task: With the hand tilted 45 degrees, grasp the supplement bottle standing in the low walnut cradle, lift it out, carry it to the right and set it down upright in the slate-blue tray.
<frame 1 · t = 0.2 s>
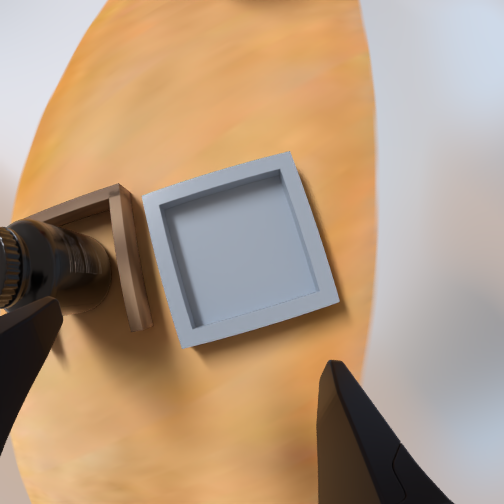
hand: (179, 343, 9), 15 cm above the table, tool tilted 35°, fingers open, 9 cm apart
supplement bottle: (82, 274, 24), on the table
tray: (238, 250, 24), on the table
cradle: (81, 274, 24), on the table
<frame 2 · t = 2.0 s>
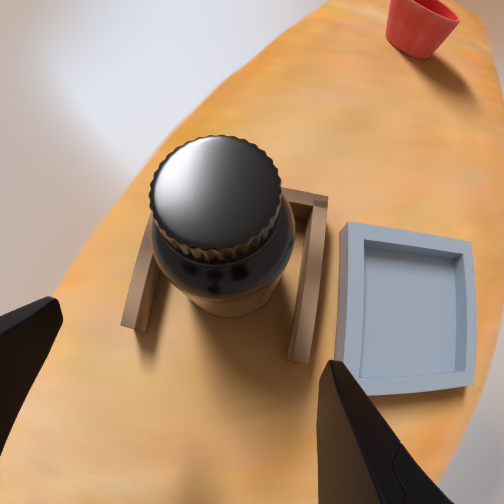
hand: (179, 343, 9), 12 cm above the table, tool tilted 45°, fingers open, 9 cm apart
flower pot: (407, 46, 34), on the table
supplement bottle: (229, 272, 22), on the table
tray: (407, 313, 21), on the table
cradle: (229, 271, 22), on the table
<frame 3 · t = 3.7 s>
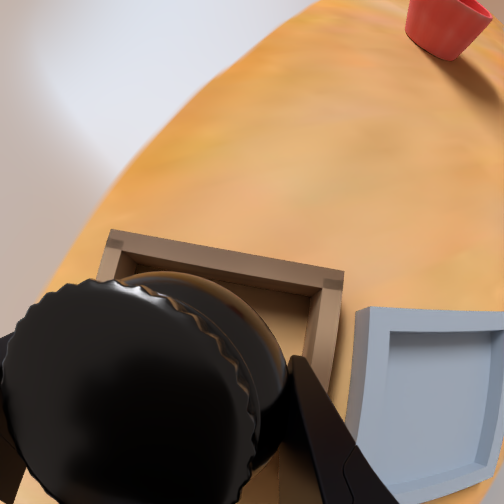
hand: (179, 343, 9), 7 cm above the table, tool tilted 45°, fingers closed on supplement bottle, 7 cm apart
flower pot: (430, 44, 27), on the table
supplement bottle: (203, 370, 15), on the table, touching gripper
tray: (431, 408, 14), on the table
cradle: (203, 370, 15), on the table
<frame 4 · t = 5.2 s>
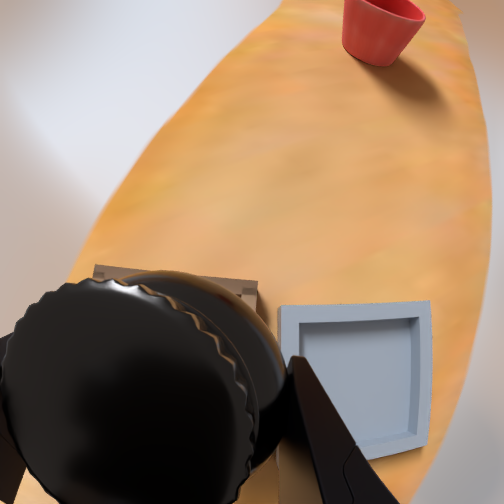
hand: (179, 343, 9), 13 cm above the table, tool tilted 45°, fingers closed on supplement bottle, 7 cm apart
flower pot: (367, 51, 33), on the table
supplement bottle: (203, 369, 15), point 6 cm above the table, touching gripper
tray: (354, 383, 21), on the table
cradle: (168, 358, 21), on the table
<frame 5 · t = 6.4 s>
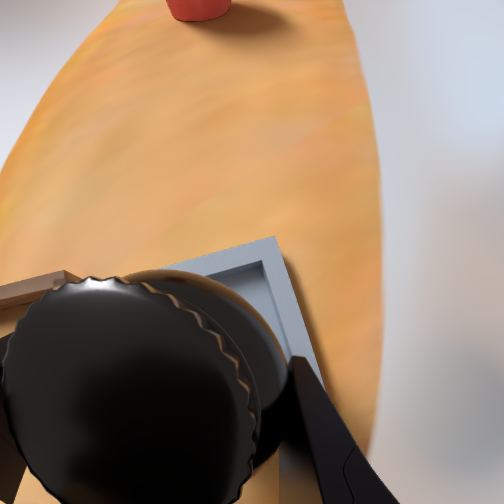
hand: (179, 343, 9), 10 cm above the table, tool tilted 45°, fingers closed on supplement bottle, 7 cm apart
flower pot: (201, 11, 30), on the table
supplement bottle: (204, 369, 15), point 3 cm above the table, touching gripper
tray: (208, 361, 18), on the table
cradle: (31, 367, 17), on the table
when the fingers open (9 cm above the table, at t = 7.1 s): supplement bottle drops 1 cm, resting on tray.
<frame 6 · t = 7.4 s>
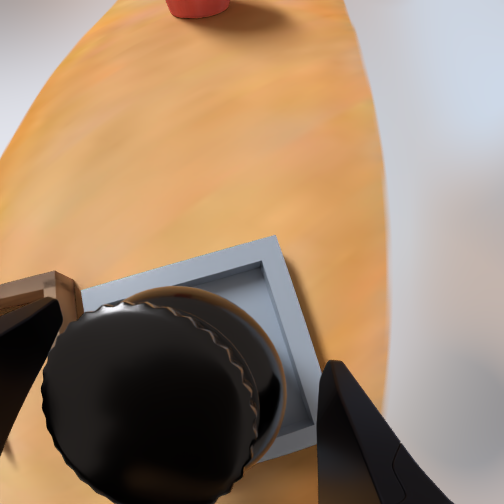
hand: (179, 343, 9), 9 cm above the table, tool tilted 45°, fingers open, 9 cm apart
flower pot: (200, 8, 29), on the table
supplement bottle: (208, 371, 16), resting on tray
tray: (205, 367, 17), on the table
cradle: (22, 371, 16), on the table
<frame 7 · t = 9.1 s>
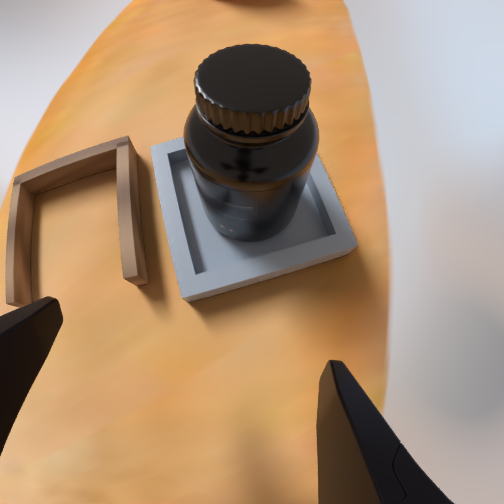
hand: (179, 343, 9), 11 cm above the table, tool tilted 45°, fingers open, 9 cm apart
supplement bottle: (248, 202, 22), resting on tray
tray: (246, 202, 23), on the table
cradle: (74, 231, 22), on the table
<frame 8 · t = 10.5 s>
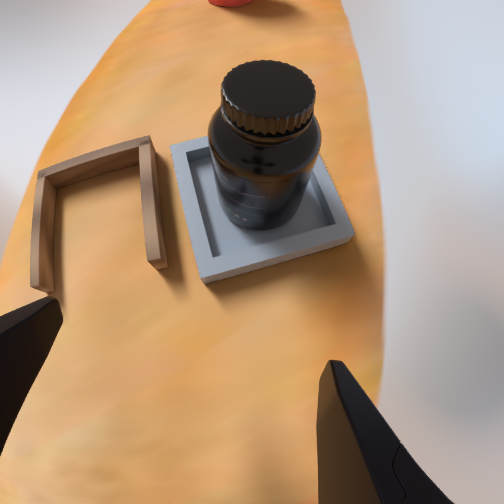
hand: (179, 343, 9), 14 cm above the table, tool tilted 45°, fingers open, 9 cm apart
flower pot: (230, 0, 38), on the table
supplement bottle: (258, 196, 25), resting on tray
tray: (256, 196, 25), on the table
cradle: (97, 221, 24), on the table
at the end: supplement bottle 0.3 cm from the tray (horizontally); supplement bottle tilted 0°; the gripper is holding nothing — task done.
